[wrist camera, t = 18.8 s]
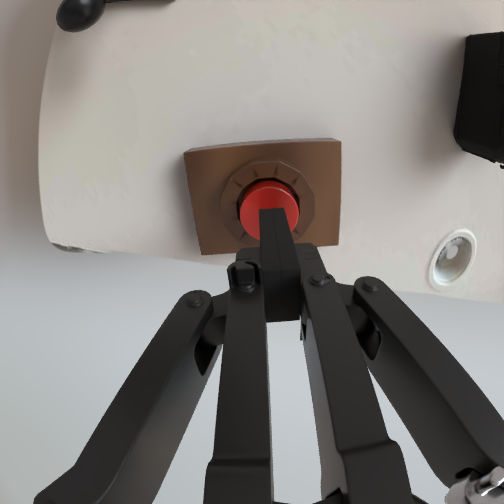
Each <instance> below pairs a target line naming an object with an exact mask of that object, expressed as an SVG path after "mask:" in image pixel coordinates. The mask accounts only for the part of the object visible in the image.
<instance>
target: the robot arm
mask: <svg viewBox="0 0 504 504" xmlns="http://www.w3.org/2000/svg"><path fill="white" fill-rule="evenodd" d="M259 229H260V247H251V248H241V249H240V250H239V251H238V252H237V254H236V262H234V263H232V264H231V265H229V266H228V268H227V273H228V280H229V286H230V289H229V290H228V291H227V292H225V293H223V294H220V295H217V296H213V297H211V295H210V294H209V293H208V292H206V291H202V290H194V291H190V292H188V293H186V294H184V295H183V296H182V297H181V298H180V299H179V300H178V302H177V303H176V305H175V306H174V308H173V309H172V311H171V312H170V314H169V315H168V316H167V318H166V320H165V321H164V322H163V324H162V325H161V327H160V328H159V330H158V331H157V333H156V334H155V336H154V338H153V339H152V340H151V342H150V343H149V345H148V346H147V348H146V349H145V351H144V353H143V354H142V356H141V357H140V359H139V360H138V362H137V363H136V365H135V366H134V368H133V369H132V371H131V373H130V374H129V376H128V377H127V379H126V380H125V382H124V384H123V385H122V387H121V388H120V390H119V391H118V393H117V395H116V396H115V398H114V400H113V401H112V403H111V405H110V406H109V408H108V409H107V411H106V412H105V414H104V416H103V417H102V419H101V421H100V422H99V424H98V426H97V427H96V429H95V431H94V432H93V434H92V436H91V438H90V439H89V441H88V442H87V444H86V446H85V447H84V449H83V451H82V453H81V455H80V456H79V458H78V460H77V462H76V463H75V465H74V466H73V467H72V468H71V469H69V470H68V471H67V472H65V473H64V474H63V475H62V476H61V477H59V478H58V479H57V480H55V481H54V482H53V483H52V484H50V485H49V486H48V487H46V488H45V489H44V490H42V491H41V492H40V493H38V494H37V496H36V497H35V498H34V502H33V504H152V502H153V500H154V499H155V497H156V495H157V493H158V491H159V489H160V487H161V484H162V482H163V480H164V478H165V475H166V473H167V471H168V469H169V467H170V464H171V462H172V460H173V458H174V456H175V453H176V451H177V449H178V447H179V444H180V442H181V440H182V438H183V435H184V433H185V431H186V428H187V426H188V424H189V422H190V420H191V417H192V415H193V413H194V410H195V408H196V406H197V404H198V401H199V399H200V397H201V394H202V392H203V390H204V388H205V385H206V383H207V381H208V378H209V376H210V374H211V372H212V369H213V367H214V364H215V362H216V360H217V358H218V355H219V353H220V350H221V348H222V344H223V354H222V364H221V374H220V384H219V393H218V404H217V415H216V426H215V439H214V450H213V457H212V459H211V461H210V462H209V463H208V466H207V469H206V476H205V488H204V500H203V504H288V503H280V502H274V484H273V458H272V434H271V433H272V431H271V408H270V387H269V386H270V385H269V364H268V344H267V327H266V323H268V322H282V321H293V320H300V317H301V333H300V340H303V345H304V351H305V357H306V363H307V369H308V375H309V382H310V389H311V395H312V402H313V408H314V416H315V423H316V430H317V438H318V446H319V454H320V463H321V474H322V475H321V496H322V501H319V502H316V503H313V504H428V503H427V502H425V501H423V500H422V499H420V498H419V497H417V496H416V495H414V494H412V492H411V488H410V483H409V478H408V474H407V470H406V465H405V462H404V458H403V453H402V451H401V448H400V446H399V445H398V443H397V442H396V441H393V440H391V439H390V438H389V436H388V434H387V431H386V427H385V423H384V420H383V416H382V413H381V409H380V406H379V403H378V399H377V396H376V393H375V390H374V387H373V383H372V380H371V377H370V374H369V371H368V369H369V370H370V372H371V373H372V375H373V376H374V378H375V379H376V381H377V382H378V384H379V385H380V387H381V388H382V390H383V392H384V393H385V395H386V396H387V398H388V399H389V401H390V403H391V404H392V406H393V407H394V409H395V410H396V412H397V413H398V415H399V417H400V418H401V420H402V421H403V423H404V425H405V426H406V428H407V429H408V431H409V433H410V434H411V436H412V438H413V439H414V441H415V443H416V444H417V446H418V447H419V449H420V450H421V452H422V454H423V456H424V457H425V459H426V461H427V463H428V464H429V466H430V467H431V469H432V470H433V472H434V473H435V475H436V476H437V477H438V478H439V479H440V481H441V482H442V483H443V484H444V485H445V486H447V487H448V488H449V489H450V490H449V492H448V493H447V494H446V496H445V503H446V504H504V420H503V419H502V417H501V416H500V414H499V413H498V412H497V410H496V409H495V408H494V406H493V405H492V404H491V402H490V401H489V400H488V398H487V397H486V396H485V394H484V393H483V392H482V390H481V389H480V388H479V387H478V385H477V384H476V383H475V382H474V380H473V379H472V378H471V377H470V375H469V374H468V373H467V372H466V371H465V369H464V368H463V367H462V366H461V365H460V364H459V362H458V361H457V360H456V359H455V358H454V356H453V355H452V354H451V353H450V352H449V351H448V350H447V348H446V347H445V346H444V345H443V344H442V343H441V342H440V341H439V339H438V338H437V337H436V336H435V335H434V334H433V333H432V332H431V331H430V330H429V328H428V327H427V326H426V325H425V324H424V323H423V322H422V321H421V320H420V319H419V318H418V317H417V316H416V315H415V314H414V313H413V312H412V310H411V309H410V308H409V307H408V306H407V305H406V304H405V303H404V302H403V301H402V300H401V299H400V298H399V297H398V296H397V295H396V294H395V293H394V292H393V291H392V290H391V289H390V288H389V287H388V286H387V285H386V284H385V283H384V282H383V281H381V280H380V279H378V278H375V277H371V276H365V277H360V278H358V279H357V280H356V281H355V283H354V285H345V284H340V283H337V282H336V281H335V279H334V278H333V276H332V275H330V274H329V273H327V272H326V269H325V267H324V264H323V262H322V259H321V257H320V254H319V252H318V249H317V247H316V246H315V245H313V244H312V243H311V242H310V243H296V244H294V241H293V238H292V234H291V231H290V227H289V224H288V220H287V217H286V213H285V210H284V208H269V209H259ZM367 367H368V368H367Z"/></svg>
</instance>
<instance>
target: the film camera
mask: <svg viewBox="0 0 504 504" xmlns="http://www.w3.org/2000/svg"><path fill="white" fill-rule="evenodd" d="M454 137H455V139H456V142H457V144H458V145H459V146H461V147H462V150H464V151H466V152H468V153H471V154H474V155H476V156H479V157H482V158H484V159H487V160H489V161H490V162H493V163H495V162H499V163H503V164H504V32H495V33H484V34H475V35H469V36H468V37H467V40H466V50H465V59H464V68H463V76H462V83H461V90H460V97H459V103H458V109H457V116H456V121H455V127H454ZM500 168H501V169H504V165H503V166H502V165H501V164H500Z"/></svg>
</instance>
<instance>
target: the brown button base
mask: <svg viewBox="0 0 504 504" xmlns="http://www.w3.org/2000/svg"><path fill="white" fill-rule="evenodd" d="M184 160H185V166H186V172H187V179H188V185H189V191H190V197H191V202H192V208H193V213H194V219H195V224H196V230H197V235H198V240H199V245H200V250H201V254H202V255H213V254H226V253H237V252H238V251H239V250H240V249H241V248H251V247H260V240H258V239H256V238H254V237H252V236H251V235H249V234H248V233H247V232H246V231H245V229H244V228H243V226H242V224H241V220H240V207H241V201H242V198H243V196H244V194H245V192H246V191H247V190H248V189H249V188H250V187H251V186H253V185H254V184H256V183H259V182H262V181H275V182H278V183H281V184H283V185H284V186H286V187H287V188H288V189H289V190H290V192H291V193H292V195H293V197H294V199H295V201H296V203H297V206H298V211H299V217H298V221H297V224H296V226H295V228H294V229H293V230H292V232H291V234H292V238H293V241H294V244H296V243H310V242H311V243H312V244H313V245H315V246H316V247H320V246H334V245H338V243H339V227H340V207H341V141H338V140H336V139H333V138H314V139H283V140H266V141H252V142H241V143H231V144H222V145H214V146H206V147H199V148H192V149H189V150H188V151H186V152H184Z"/></svg>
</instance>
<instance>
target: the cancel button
mask: <svg viewBox="0 0 504 504" xmlns="http://www.w3.org/2000/svg"><path fill="white" fill-rule="evenodd" d="M269 208H284V210H285V213H286V217H287V220H288V224H289V227H290V231H291V232H292V230H293V229H294V228H295V226H296V224H297V221H298V217H299V211H298V206H297V203H296V201H295V199H294V197H293V195H292V193H291V192H290V190H289V189H288V188H287V187H286V186H284V185H283V184H281V183H278V182H275V181H262V182H259V183H256V184H254V185H253V186H251V187H250V188H249V189H248V190H247V191H246V192H245V194H244V196H243V198H242V201H241V207H240V220H241V224H242V226H243V228H244V229H245V231H246V232H247V233H248V234H249V235H251V236H252V237H254V238H256V239H258V240H260V229H259V209H269Z"/></svg>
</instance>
